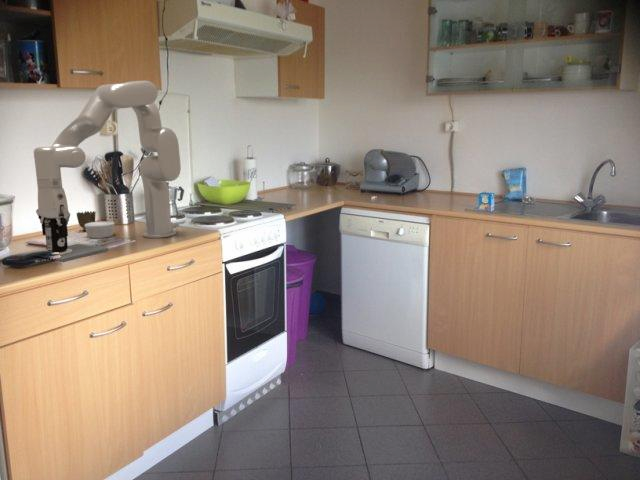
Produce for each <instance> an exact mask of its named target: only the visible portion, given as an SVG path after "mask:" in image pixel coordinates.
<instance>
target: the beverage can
mask: <svg viewBox="0 0 640 480" xmlns="http://www.w3.org/2000/svg"><path fill="white" fill-rule="evenodd" d="M60 220H61V221H62V219H60ZM58 226H59V224H58V222H57V220H56V219H54V218H49V217H46V220H45V233H46V235H45V243H46V246H45V247H46V250H48V251H52V252H64V251H66V250H67V249H68V246H69V245H68V236H66V237H61V238H60V237H59V235H58Z"/></svg>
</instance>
